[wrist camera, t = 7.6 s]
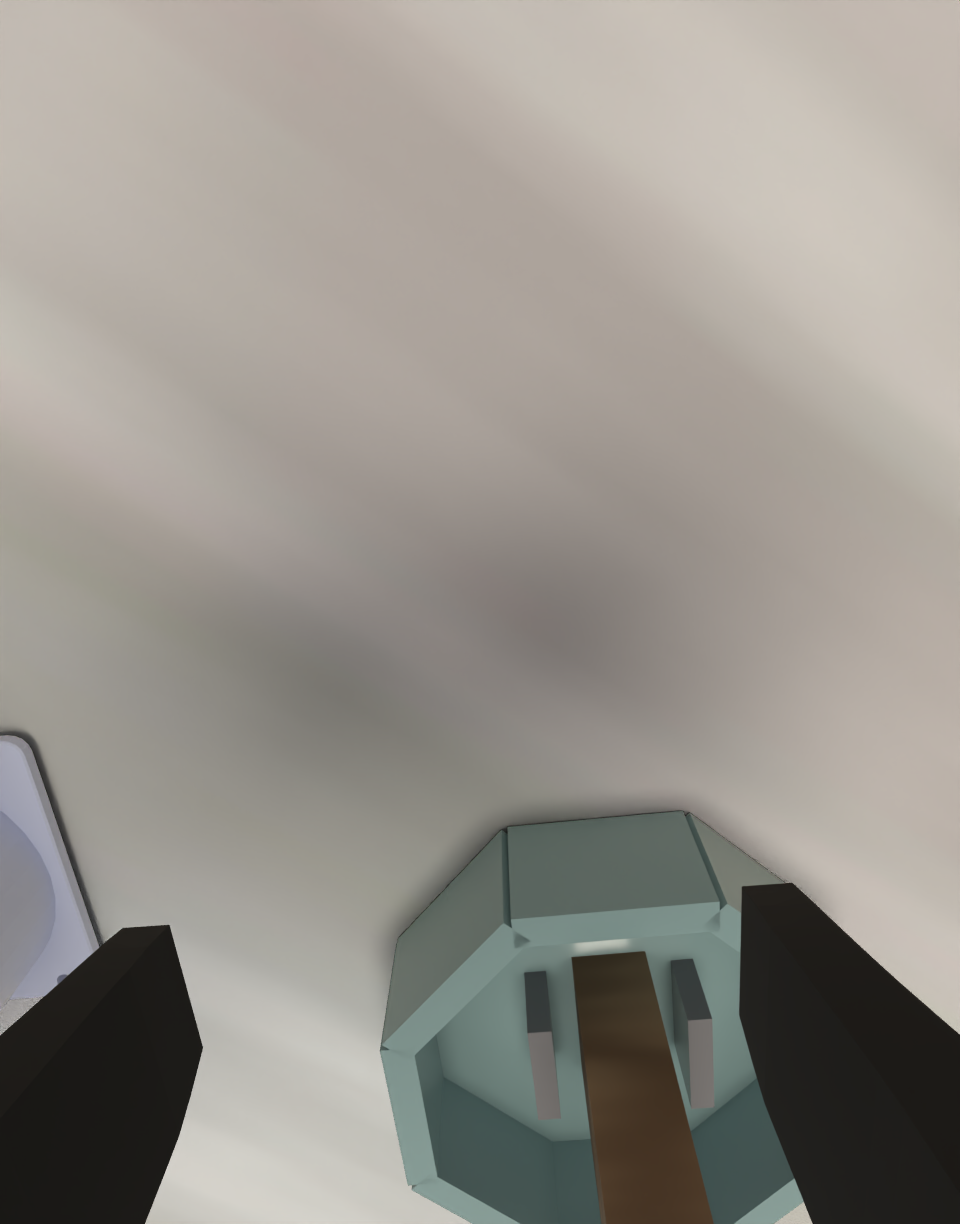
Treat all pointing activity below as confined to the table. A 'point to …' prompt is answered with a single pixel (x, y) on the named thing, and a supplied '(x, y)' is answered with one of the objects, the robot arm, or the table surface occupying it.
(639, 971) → the wooden block
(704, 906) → the bowl
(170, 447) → the table surface
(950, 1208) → the robot arm
